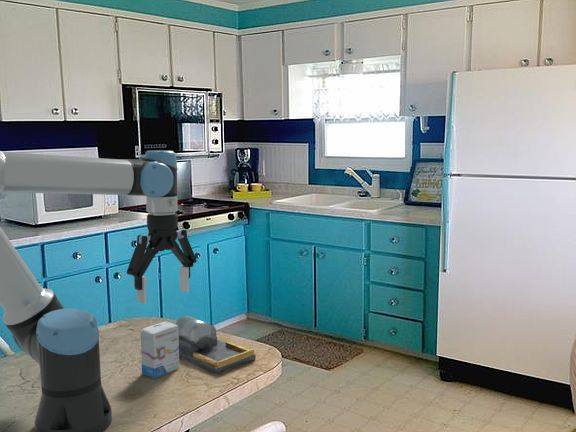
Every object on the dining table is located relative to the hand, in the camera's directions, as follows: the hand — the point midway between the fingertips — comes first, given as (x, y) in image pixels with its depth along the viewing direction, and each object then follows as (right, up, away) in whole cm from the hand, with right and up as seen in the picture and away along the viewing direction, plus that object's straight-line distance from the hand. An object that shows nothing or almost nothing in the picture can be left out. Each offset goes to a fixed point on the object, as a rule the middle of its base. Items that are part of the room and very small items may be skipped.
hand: (163, 296), depth 150 cm
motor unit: (+10, -17, +12) cm, 23 cm away
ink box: (-1, -19, +1) cm, 19 cm away
